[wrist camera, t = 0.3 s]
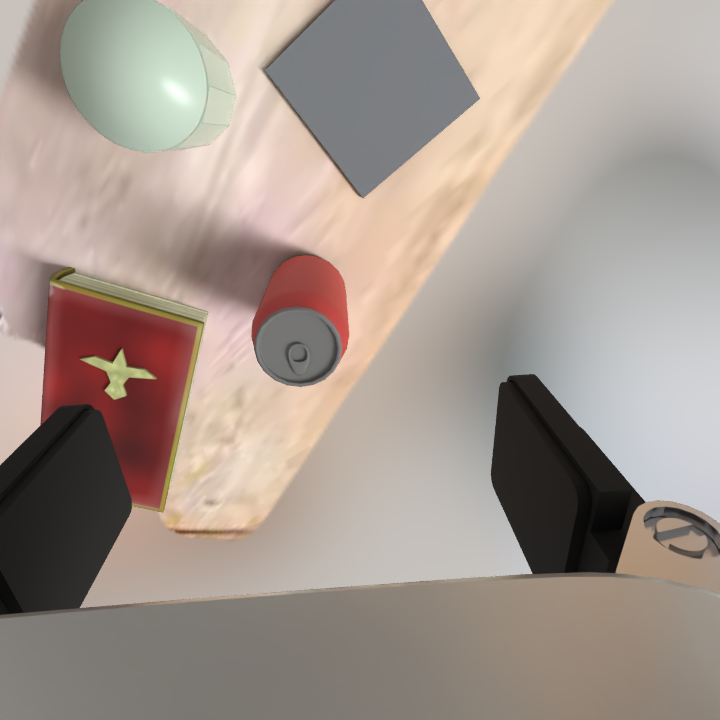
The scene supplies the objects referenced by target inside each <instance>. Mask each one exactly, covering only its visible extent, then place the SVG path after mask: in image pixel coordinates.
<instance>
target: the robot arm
mask: <svg viewBox="0 0 720 720" xmlns="http://www.w3.org/2000/svg"><path fill="white" fill-rule="evenodd" d="M491 479H492V484H493V487H494V490H495V492H496V494H497V496H498V499H499V501H500V503H501V505H502V507H503V510H504V512H505V514H506V516H507V518H508V521H509V523H510V525H511V527H512V529H513V532H514V534H515V536H516V538H517V540H518V542H519V545H520V547H521V549H522V551H523V553H524V556H525V558H526V560H527V562H528V564H529V566H530V569H531V571H532V573H533V574H525V575H523V574H522V575H509V576H496V577H478V578H462V579H449V580H435V581H420V582H408V583H393V584H380V585H365V586H351V587H339V588H338V587H337V588H325V589H311V590H298V591H286V592H273V593H261V594H247V595H234V596H221V597H209V598H197V599H183V600H171V601H160V602H147V603H137V604H136V603H135V604H124V605H112V606H100V607H88V608H80V606H81V604H82V602H83V601H84V599H85V597H86V595H87V593H88V591H89V589H90V588H91V586H92V584H93V582H94V580H95V578H96V576H97V575H98V573H99V571H100V569H101V567H102V565H103V563H104V562H105V560H106V558H107V556H108V554H109V552H110V550H111V549H112V547H113V545H114V543H115V541H116V539H117V537H118V536H119V534H120V532H121V530H122V528H123V526H124V524H125V522H126V521H127V519H128V517H129V515H130V513H131V509H132V499H131V496H130V493H129V490H128V487H127V484H126V481H125V478H124V475H123V472H122V469H121V466H120V464H119V461H118V458H117V455H116V452H115V449H114V446H113V443H112V440H111V437H110V434H109V432H108V429H107V426H106V423H105V420H104V417H103V415H102V413H101V411H100V410H95V409H94V407H93V406H92V405H90V404H80V405H65V406H61V407H59V408H58V409H57V410H56V411H55V412H54V413H53V414H52V415H51V416H50V417H49V418H48V419H47V420H46V421H45V422H44V423H43V424H42V425H41V426H40V427H39V428H38V429H37V430H36V431H35V432H34V433H33V434H32V435H30V437H29V438H27V439H26V440H25V441H24V442H23V443H22V444H21V445H20V446H19V447H18V448H17V449H16V450H15V451H14V452H13V453H12V454H11V455H10V456H9V457H8V458H7V459H6V460H5V461H4V462H3V463H2V464H1V465H0V720H720V524H719V523H718V522H717V521H716V520H714V519H713V518H711V517H709V516H708V515H706V514H705V513H703V512H701V511H699V510H696V509H694V508H691V507H689V506H687V505H683V504H679V503H676V502H670V501H659V500H658V501H651V502H645V501H644V500H643V499H642V497H640V495H639V494H638V493H637V492H636V491H635V489H634V488H633V487H632V486H631V485H630V483H629V482H628V481H627V480H626V479H625V478H624V476H623V475H622V474H621V473H620V472H619V471H618V469H617V468H616V467H615V466H614V465H613V464H612V462H611V461H610V460H609V459H608V458H607V457H606V456H605V454H604V453H603V452H602V451H601V449H600V448H599V447H598V446H597V445H596V444H595V442H594V441H593V440H592V439H591V438H590V437H589V435H588V434H587V433H586V432H585V431H584V430H583V429H582V428H581V427H579V426H578V425H577V423H576V422H575V421H574V420H573V419H572V417H571V416H570V415H569V414H568V413H567V411H566V410H565V409H564V408H563V407H562V406H561V404H560V403H559V402H558V401H557V400H556V399H555V397H554V396H553V395H552V394H551V393H550V391H549V390H548V389H547V388H546V387H545V386H544V384H543V383H542V382H541V381H540V380H539V378H538V377H537V376H536V375H534V374H529V375H514V376H509V377H508V379H507V382H502V383H501V384H500V387H499V396H498V406H497V416H496V426H495V437H494V448H493V458H492V468H491Z"/></svg>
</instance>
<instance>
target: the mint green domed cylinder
mask: <svg viewBox="0 0 720 720" xmlns="http://www.w3.org/2000/svg"><path fill="white" fill-rule="evenodd" d="M60 61H61V69H62V74H63V78H64V81H65V85H66V88H67V90H68V92H69V95H70V97H71V99H72V101H73V102H74V104H75V106H76V108H77V109H78V110H79V112H80V113H81V115H82V116H83V117H84V118H85V120H86V121H87V122H88V123H89V124H90V125H91V126H92V127H93V128H94V129H95V130H96V131H97V132H99V133H100V134H101V135H103V136H104V137H105V138H107V139H108V140H110V141H112V142H113V143H115V144H118V145H120V146H122V147H125V148H128V149H131V150H136V151H141V152H144V153H153V152H162V151H171V150H180V149H187V148H193V147H199V146H204V145H210V144H211V143H212V142H213V141H214V140H215V139H216V138H217V137H218V136H219V135H220V134H221V133H222V132H223V131H224V130H225V129H226V128H227V127H228V126H229V124H230V120H231V116H232V112H233V108H234V103H235V99H236V93H235V89H234V84H233V80H232V76H231V72H230V68H229V64H228V62H227V61H226V59H225V58H224V57H223V56H222V54H221V53H220V52H219V50H218V49H217V48H216V47H215V45H214V44H213V43H212V42H211V40H210V39H209V38H208V37H207V36H206V35H205V34H204V33H203V32H201V31H200V30H199V29H197V28H196V27H195V26H193V25H192V24H191V23H189V22H188V21H187V20H186V19H184V18H183V17H182V16H180V15H179V14H178V13H176V12H175V11H174V10H172V9H171V8H169V7H167V6H165V5H162V4H160V3H158V2H157V1H155V0H83V1H82V2H81V3H80V4H79V5H78V6H77V7H76V8H75V9H74V10H73V12H72V13H71V15H70V16H69V18H68V20H67V22H66V24H65V27H64V30H63V33H62V38H61V44H60Z"/></svg>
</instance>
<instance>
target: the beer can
mask: <svg viewBox="0 0 720 720" xmlns="http://www.w3.org/2000/svg"><path fill="white" fill-rule="evenodd" d="M348 339H349V326H348V313H347V299H346V290H345V284H344V281H343V279H342V277H341V275H340V273H339V271H338V270H337V269H336V268H335V267H334V266H333V265H332V264H331V263H330V262H328V261H326V260H324V259H322V258H320V257H316V256H309V255H303V256H296V257H293V258H291V259H289V260H287V261H285V262H283V263H282V264H281V265H280V266H279V267H278V268H277V269H276V270H275V271H274V273H273V276H272V278H271V280H270V282H269V285H268V287H267V289H266V292H265V294H264V296H263V298H262V301H261V303H260V305H259V308H258V310H257V312H256V315H255V317H254V319H253V323H252V341H253V345H254V350H255V354H256V358H257V361H258V363H259V364H260V366H261V367H262V369H263V370H264V372H265V373H267V374H268V375H269V376H270V377H272V378H273V379H274V380H276V381H278V382H281V383H283V384H286V385H290V386H298V387H302V386H309V385H314V384H316V383H318V382H320V381H323V380H325V379H326V378H327V377H328V376H329V375H330V374H331V373H333V372H334V370H335V369H336V367H337V365H338V364H339V362H340V360H341V358H342V357H343V355H344V353H345V351H346V349H347V344H348Z"/></svg>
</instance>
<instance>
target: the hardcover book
mask: <svg viewBox="0 0 720 720" xmlns="http://www.w3.org/2000/svg"><path fill="white" fill-rule="evenodd" d="M207 316H208V312H207V311H203V310H200V309H196V308H193V307H189V306H186V305H183V304H179V303H176V302H172V301H169V300H165V299H162V298H159V297H155V296H152V295H148V294H145V293H141V292H138V291H134V290H131V289H128V288H124V287H121V286H117V285H114V284H110V283H107V282H104V281H100V280H97V279H93V278H90V277H86V276H83V275H80V274H76V273H75V269H74V268H71V267H69V268H66V269H63V270H60V271H58V272H56V273H55V274H53V275H52V276H51V277H50V282H49V298H48V314H47V330H46V346H45V364H44V379H43V395H42V412H41V425H42V424H43V423H44V422H45V421H46V420H47V419H48V418H49V417H50V416H51V415H52V414H53V413H54V412H55V411H56V410H57V409H58V408H59V407H61V406H65V405H80V404H90V405H92V406H93V407H94V409H95V410H100V411H101V413H102V415H103V417H104V420H105V423H106V426H107V429H108V432H109V434H110V437H111V440H112V443H113V446H114V449H115V452H116V455H117V458H118V461H119V464H120V466H121V469H122V472H123V475H124V478H125V481H126V484H127V487H128V490H129V493H130V496H131V499H132V506H134V507H139V508H144V509H149V510H154V511H158V512H163V511H164V508H165V503H166V499H167V494H168V489H169V487H170V485H171V481H172V477H173V472H174V467H175V463H176V458H177V454H178V449H179V444H180V440H181V435H182V431H183V426H184V421H185V417H186V412H187V408H188V403H189V398H190V394H191V389H192V385H193V380H194V376H195V371H196V366H197V362H198V357H199V353H200V348H201V343H202V339H203V334H204V330H205V325H206V320H207Z"/></svg>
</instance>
